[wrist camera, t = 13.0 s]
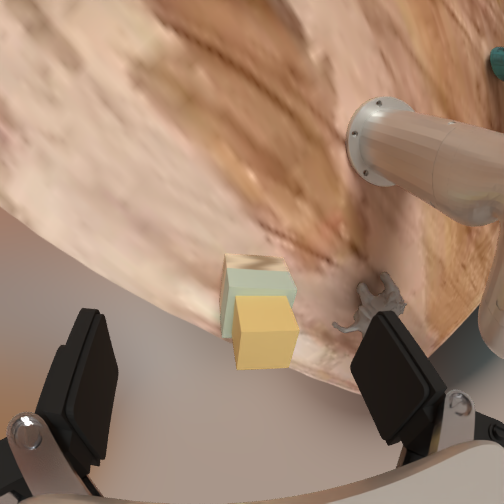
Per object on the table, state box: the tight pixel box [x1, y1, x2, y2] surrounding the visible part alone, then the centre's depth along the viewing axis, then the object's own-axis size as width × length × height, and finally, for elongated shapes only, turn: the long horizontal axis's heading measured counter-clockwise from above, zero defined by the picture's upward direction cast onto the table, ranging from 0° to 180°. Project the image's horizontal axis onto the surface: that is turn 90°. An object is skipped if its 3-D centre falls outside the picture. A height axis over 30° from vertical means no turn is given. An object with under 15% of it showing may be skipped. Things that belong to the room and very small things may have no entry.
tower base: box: [219, 254, 289, 313], centre depth 41 cm, size 8×8×4 cm
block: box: [232, 296, 300, 370], centre depth 34 cm, size 6×6×6 cm
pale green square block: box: [220, 268, 297, 338], centre depth 38 cm, size 8×8×4 cm
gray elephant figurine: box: [332, 272, 407, 337], centre depth 45 cm, size 9×12×8 cm
